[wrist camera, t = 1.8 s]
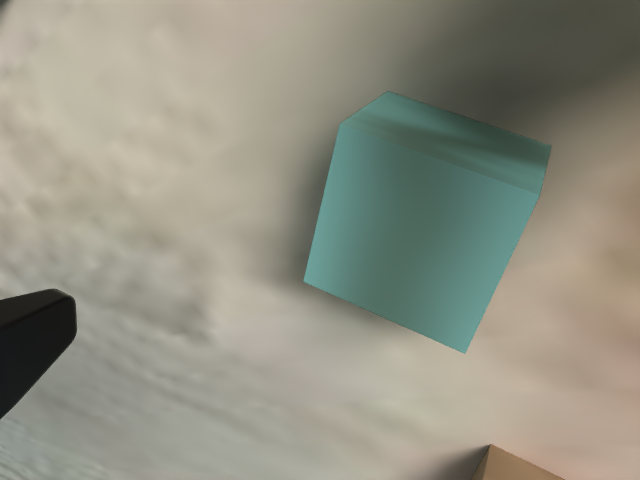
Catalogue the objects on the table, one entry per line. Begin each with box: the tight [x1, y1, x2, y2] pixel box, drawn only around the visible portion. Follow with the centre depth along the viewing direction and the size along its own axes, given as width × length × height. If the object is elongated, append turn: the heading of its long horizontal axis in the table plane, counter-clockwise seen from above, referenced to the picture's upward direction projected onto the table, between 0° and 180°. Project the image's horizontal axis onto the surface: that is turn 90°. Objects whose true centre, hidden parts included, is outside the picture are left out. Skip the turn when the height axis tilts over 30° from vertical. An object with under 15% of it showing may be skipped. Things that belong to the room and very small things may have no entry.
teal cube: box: [303, 91, 551, 354], centre depth 16 cm, size 5×5×4 cm
